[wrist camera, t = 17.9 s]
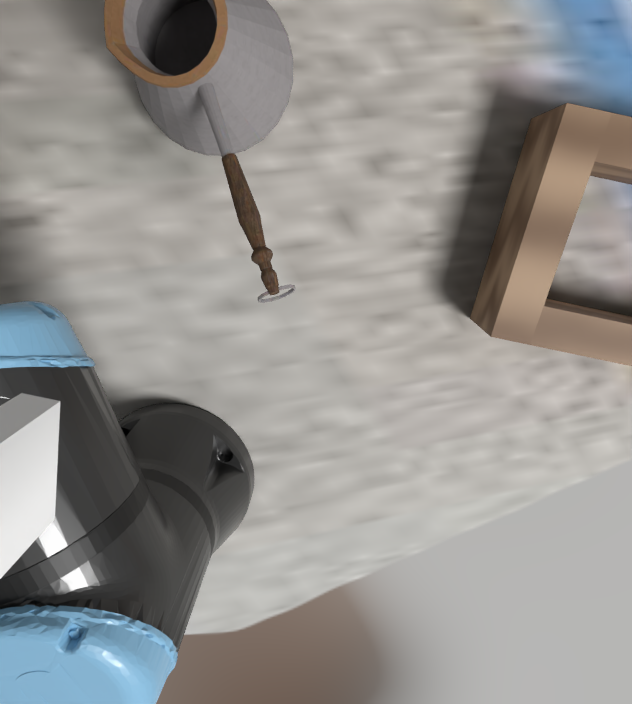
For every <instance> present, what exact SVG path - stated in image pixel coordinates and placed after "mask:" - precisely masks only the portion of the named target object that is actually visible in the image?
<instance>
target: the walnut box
mask: <svg viewBox="0 0 632 704" xmlns="http://www.w3.org/2000/svg"><path fill="white" fill-rule="evenodd" d="M589 176H595V177H599V178H604V179H609V180H613V181H618V182H622V183H627V184H632V117H629V116H624V115H620V114H615V113H611V112H606V111H602V110H597V109H592V108H588V107H583V106H579V105H574V104H570V103H566V104H564V105H561V106H559V107H557V108H555V109H552V110H550V111H548V112H546V113H543V114H541V115H539V116H536V117H534V118H532V119H531V121H530V125H529V128H528V131H527V134H526V138H525V141H524V144H523V147H522V151H521V154H520V157H519V160H518V164H517V167H516V170H515V173H514V177H513V180H512V183H511V186H510V190H509V193H508V196H507V199H506V202H505V206H504V209H503V212H502V215H501V219H500V222H499V225H498V228H497V232H496V235H495V238H494V241H493V245H492V248H491V251H490V254H489V258H488V261H487V264H486V267H485V271H484V274H483V277H482V280H481V284H480V287H479V290H478V293H477V297H476V300H475V303H474V306H473V310H472V313H471V316H470V319H471V320H472V321H473V322H475V323H476V324H477V325H478V326H479V327H480V328H482V329H483V330H484V331H485V332H486V333H487V334H488V335H490V336H491V337H495V338H500V339H505V340H510V341H514V342H519V343H524V344H529V345H533V346H538V347H543V348H548V349H552V350H557V351H562V352H567V353H572V354H576V355H581V356H586V357H591V358H595V359H600V360H605V361H610V362H615V363H619V364H624V365H629V366H632V316H627V315H622V314H618V313H613V312H608V311H603V310H599V309H594V308H589V307H584V306H580V305H575V304H570V303H565V302H561V301H556V300H551V299H547V295H548V292H549V290H550V287H551V284H552V281H553V278H554V275H555V273H556V270H557V267H558V264H559V261H560V258H561V256H562V253H563V250H564V247H565V244H566V242H567V239H568V236H569V233H570V230H571V227H572V225H573V222H574V219H575V216H576V213H577V210H578V208H579V205H580V202H581V199H582V196H583V193H584V191H585V188H586V185H587V182H588V179H589Z"/></svg>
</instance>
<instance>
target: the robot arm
mask: <svg viewBox="0 0 632 704" xmlns="http://www.w3.org/2000/svg"><path fill="white" fill-rule="evenodd" d="M93 366H95V363H94V361H93V360H92V359H91V358H89V357H88V356H87V354H86V353H85V351H84V349H83V347H82V345H81V344H80V342H79V340H78V338H77V337H76V335H75V333H74V331H73V329H72V327H71V325H70V323H69V321H68V320H67V318H66V317H65V316H64V315H63V313H62V312H60V311H59V310H58V309H56V308H55V307H53V306H51V305H48V304H46V303H42V302H35V301H24V302H15V303H8V304H1V305H0V704H155V703H156V702H157V700H158V697H159V695H160V693H161V690H162V688H163V686H164V683H165V681H166V679H167V676H168V675H169V674H170V672H171V671H172V670H173V669H174V667H175V665H176V661H177V654H178V650H179V647H180V644H181V641H182V638H183V636H184V633H185V630H186V627H187V624H188V621H189V618H190V615H191V612H192V609H193V606H194V604H195V601H196V598H197V595H198V592H199V589H200V586H201V583H202V580H203V577H204V575H205V572H206V569H207V566H208V563H209V560H210V558H211V555H212V554H213V553H214V552H215V551H216V550H217V549H218V548H219V547H220V546H221V545H222V543H223V542H224V541H225V540H226V539H227V538H228V537H229V536H230V535H231V534H232V533H233V532H234V531H235V530H236V529H237V527H238V526H239V525H240V523H241V522H242V520H243V518H244V516H245V514H246V512H247V509H248V506H249V503H250V500H251V497H252V493H253V488H254V469H253V464H252V461H251V458H250V455H249V453H248V451H247V449H246V447H245V445H244V443H243V442H242V440H241V439H240V438H239V436H238V435H237V434H236V433H235V432H234V431H233V430H232V429H231V428H230V427H229V426H228V425H227V424H226V423H225V422H223V421H222V420H220V419H219V418H217V417H216V416H214V415H212V414H210V413H208V412H206V411H204V410H201V409H199V408H196V407H192V406H188V405H183V404H172V403H166V404H156V405H151V406H147V407H144V408H141V409H139V410H137V411H135V412H133V413H131V414H129V415H128V416H126V417H125V418H124V419H123V420H121V421H120V422H118V420H117V418H116V416H115V414H114V412H113V409H112V407H111V405H110V403H109V401H108V398H107V396H106V394H105V392H104V390H103V387H102V385H101V383H100V381H99V378H98V376H97V374H96V372H95V370H94V367H93Z"/></svg>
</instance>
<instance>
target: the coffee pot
mask: <svg viewBox="0 0 632 704" xmlns="http://www.w3.org/2000/svg"><path fill="white" fill-rule="evenodd" d="M104 29H105V38H106V47H107V49H108V50H109V51H110V52H111V53H112V54H113V55H114V56H115V57H116V58H117V59H118V60H119V62H120V63H122V64H123V65H124V66H125V67H126V68H127V69H129V70H130V71H131V72H132V73H133V74H134V76H135V82H136V85H137V88H138V91H139V94H140V97H141V101H142V103H143V104H144V106H145V108H146V110H147V111H148V113H149V115H150V116H151V118H152V120H153V121H154V123H155V124H156V125H157V126H158V127H159V128H160V129H161V130H162V131H163V132H164V133H165V134H166V135H167V136H168V137H169V138H170V139H172V140H173V141H175V142H176V143H178V144H180V145H181V146H183V147H184V148H186V149H188V150H191V151H194V152H198V153H201V154H204V155H222V162H223V166H224V170H225V173H226V177H227V180H228V184H229V188H230V191H231V195H232V199H233V202H234V206H235V209H236V213H237V217H238V220H239V223H240V225H241V227H242V229H243V230H244V233H245V235H246V237H247V239H248V241H249V243H250V245H251V247H252V249H253V250H254V251H253V253H252V256H251V258H252V261H253V262H254V263H256V264H258V265H259V267H260V270H261V271H262V273H261V279H262V281H263V283H264V285H265V287H266V289H267V290H268V291H267V292H265V293H263V294H261V295H260V296H259V297H258V301H259V302H261V303H265V302H270V301H274V300H277V299H280V298H283V297H285V296H287V295H289V294H291V293H292V292H294V291H295V286H294V285H285V286H280V287H278V285H279V284H278V279H277V274H276V272H275V271H274V270H273V269H272V265H271V262H270V261H271V259H272V256H273V253H272V251H271V250H270V249H269V248H267V247H266V245H265V240H264V235H263V230H262V225H261V218H260V214H259V211H258V209H257V206H256V204H255V201H254V199H253V196H252V194H251V191H250V189H249V186H248V184H247V181H246V179H245V176H244V174H243V171H242V169H241V166H240V164H239V161H238V159H237V156H236V155H235V154H234V153H238V152H241V151H245V150H247V149H249V148H250V147H252V146H254V145H255V144H257V143H258V142H260V141H262V140H263V139H264V138H265V137H266V136H267V135H268V134H269V133H270V131H271V130H272V129H273V128H274V127H275V126H276V125H277V124H278V122H279V120H280V118H281V116H282V114H283V112H284V110H285V108H286V106H287V105H288V100H289V96H290V92H291V88H292V84H293V56H292V51H291V47H290V43H289V38H288V34H287V32H286V30H285V28H284V26H283V24H282V22H281V20H280V18H279V16H278V14H277V12H276V11H275V10H274V9H273V8H272V6H271V5H270V4H269V3H268V2H267V1H266V0H105V6H104ZM287 288H292V289H291V290H289V291H288V292H286V293H284V294H282V295H279V296H276V297H273V298H269V299H262V298H263V297H265V296H266V295H268V294H270V295H275V294H277V293H279V290H282V289H287Z"/></svg>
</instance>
